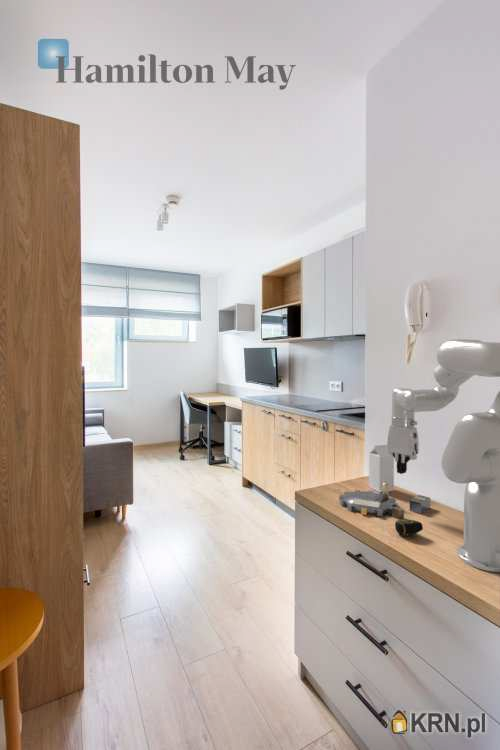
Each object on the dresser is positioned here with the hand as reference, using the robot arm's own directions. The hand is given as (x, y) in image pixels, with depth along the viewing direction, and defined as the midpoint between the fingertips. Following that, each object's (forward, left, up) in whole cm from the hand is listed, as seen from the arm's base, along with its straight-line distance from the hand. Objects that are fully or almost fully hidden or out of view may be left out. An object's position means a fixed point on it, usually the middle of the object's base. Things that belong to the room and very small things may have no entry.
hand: (401, 472), depth 130 cm
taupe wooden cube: (-3, +7, -14) cm, 16 cm away
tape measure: (-14, +13, -13) cm, 24 cm away
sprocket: (+9, +7, -14) cm, 18 cm away
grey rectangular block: (-4, -6, -14) cm, 16 cm away
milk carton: (+18, -13, -14) cm, 26 cm away
